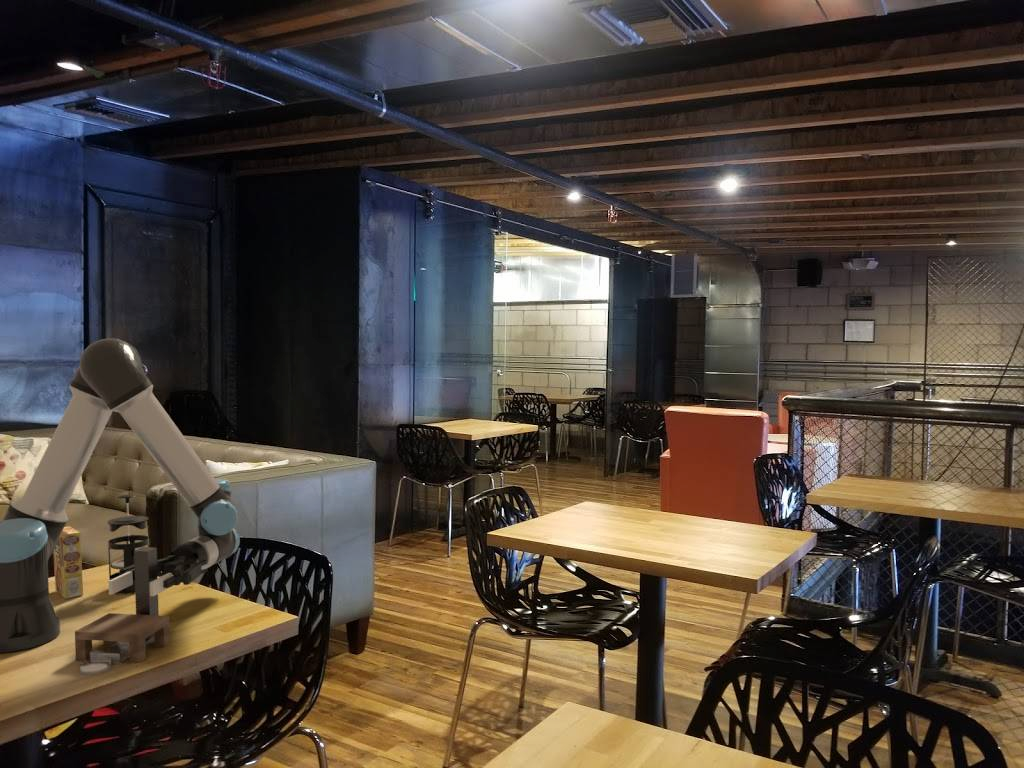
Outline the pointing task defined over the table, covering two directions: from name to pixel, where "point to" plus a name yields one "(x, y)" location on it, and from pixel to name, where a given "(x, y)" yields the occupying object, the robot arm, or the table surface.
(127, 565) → the french press
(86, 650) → the stand
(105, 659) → the disc
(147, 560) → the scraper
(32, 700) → the table surface
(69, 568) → the candy box
